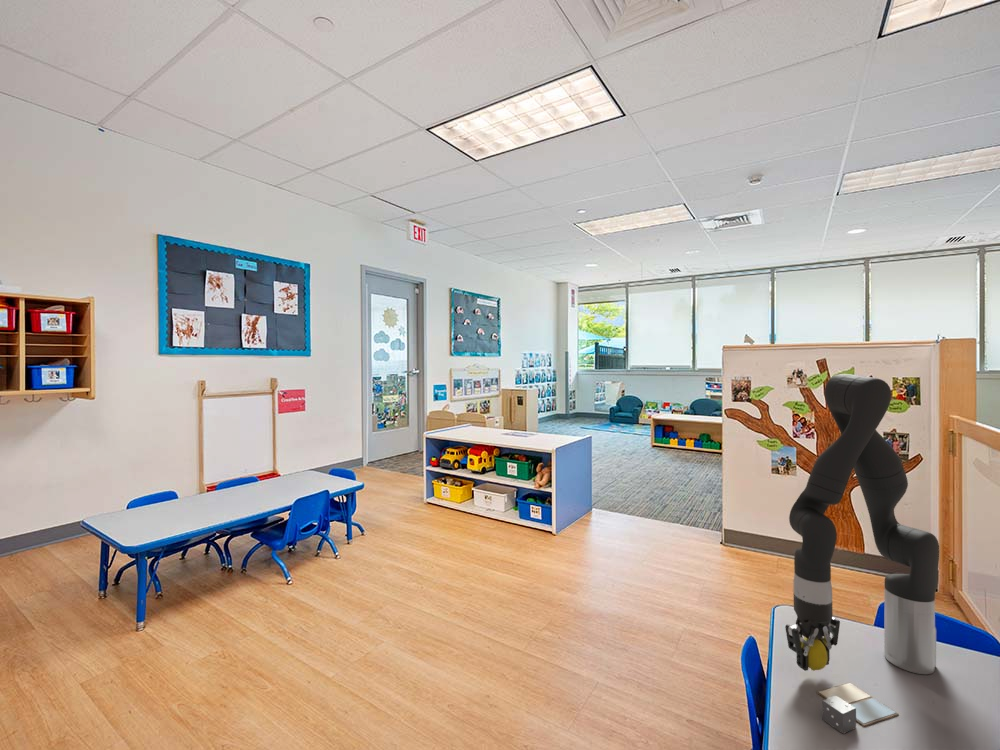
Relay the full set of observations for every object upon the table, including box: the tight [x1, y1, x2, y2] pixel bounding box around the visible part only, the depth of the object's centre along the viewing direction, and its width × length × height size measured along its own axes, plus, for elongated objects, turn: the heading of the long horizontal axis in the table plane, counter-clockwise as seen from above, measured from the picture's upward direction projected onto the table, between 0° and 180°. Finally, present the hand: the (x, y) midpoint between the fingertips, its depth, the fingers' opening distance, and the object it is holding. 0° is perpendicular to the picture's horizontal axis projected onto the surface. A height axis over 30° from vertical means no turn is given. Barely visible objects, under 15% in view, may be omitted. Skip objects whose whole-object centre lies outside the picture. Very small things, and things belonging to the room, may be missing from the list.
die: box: [821, 695, 857, 734], centre depth 94 cm, size 4×4×4 cm
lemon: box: [801, 637, 828, 671], centre depth 108 cm, size 6×6×8 cm
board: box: [816, 681, 899, 727], centre depth 99 cm, size 10×10×1 cm
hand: (813, 665), depth 108 cm, fingers closed on lemon, 5 cm apart
